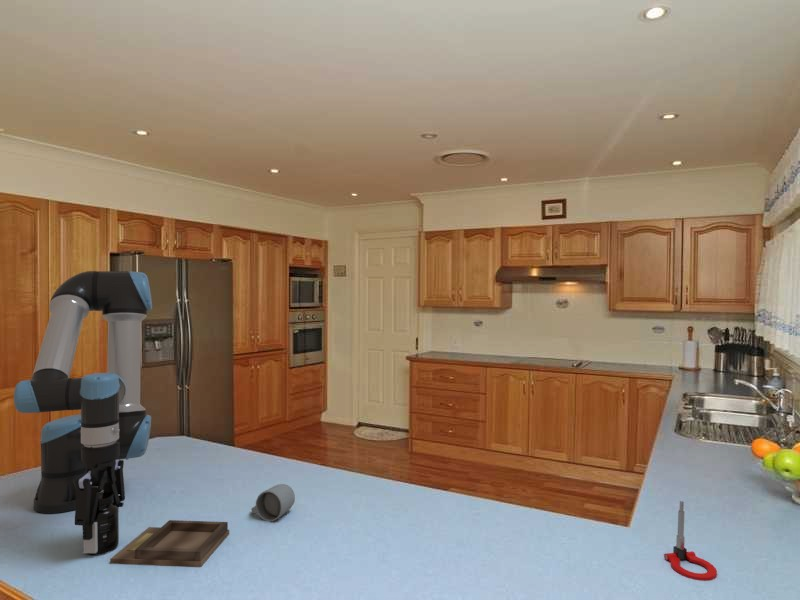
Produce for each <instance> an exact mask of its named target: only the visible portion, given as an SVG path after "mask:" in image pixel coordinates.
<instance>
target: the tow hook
mask: <svg viewBox="0 0 800 600" xmlns="http://www.w3.org/2000/svg"><path fill="white" fill-rule="evenodd" d="M684 504H685V502H684V501H683V500H682V501H681V500H680V501H679V510H678V511H677V513H678V514H677V534H676V542H675V543H676V545H675V546H673V549H672V550H673V551H672V552H668V553H667V552H665V553H663V557H664V560H665V561H669V562H670V566H671V567H672V569H673V570H674V571H675V572H677V573H678V574H679V575H681V576H683V577H685V578H688V579H692V580H697V581H700V582H701V581H702V582H703V581H712V580H715V579H716V578H717V575H718V570H717V568H716V567H715V566H714V565H713V564H712V563H711V562H709V561H707V560H706V559H704V558H700V557H698V556H696V553H695V551H687V548H686V547H685V536H684V535H685V534H684V533H685V532H684V531H685V511H684V507H685V506H684ZM686 560H688V561H689V562H690V563H694V564H697V565H700V566H702V567H704V568H705V569H706V570H707V571H706V572H705V573H704V572H703V573H698V572H695V571H694V572H693V571H690V570H687V569H685V568H684V567H682V566H681V565H680V564H681V561H686Z"/></svg>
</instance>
